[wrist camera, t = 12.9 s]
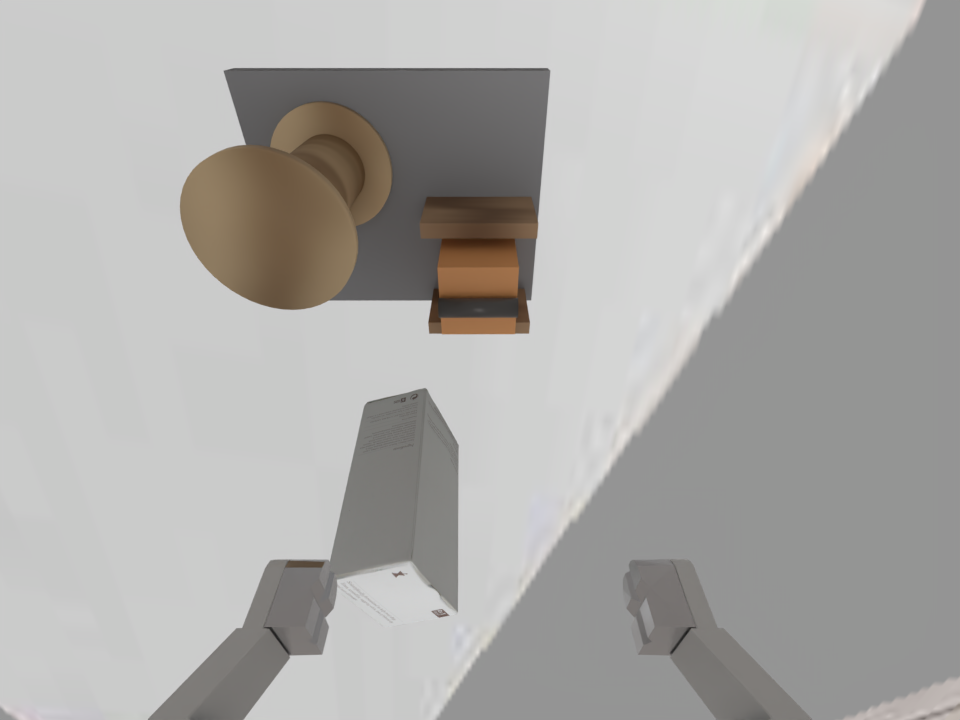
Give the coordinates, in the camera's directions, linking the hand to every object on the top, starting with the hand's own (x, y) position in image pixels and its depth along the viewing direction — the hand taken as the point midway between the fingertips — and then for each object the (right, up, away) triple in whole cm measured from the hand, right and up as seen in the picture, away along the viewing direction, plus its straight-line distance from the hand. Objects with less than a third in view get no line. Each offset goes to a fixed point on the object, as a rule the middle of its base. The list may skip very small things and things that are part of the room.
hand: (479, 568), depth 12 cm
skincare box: (-6, 0, +27) cm, 28 cm away
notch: (0, +12, +16) cm, 20 cm away
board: (-4, +16, +15) cm, 22 cm away
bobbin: (-8, +16, +12) cm, 22 cm away
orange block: (0, +12, +16) cm, 20 cm away
